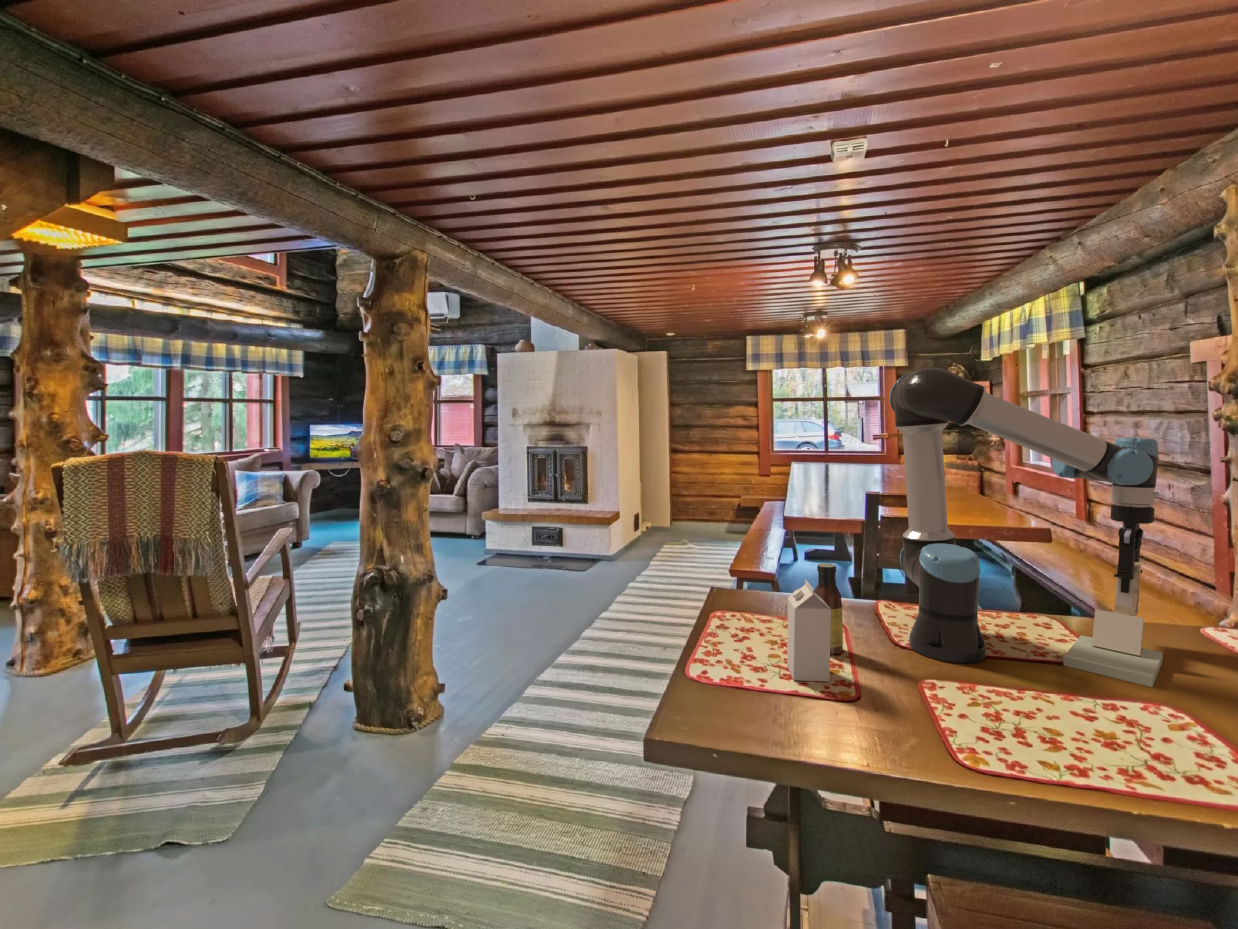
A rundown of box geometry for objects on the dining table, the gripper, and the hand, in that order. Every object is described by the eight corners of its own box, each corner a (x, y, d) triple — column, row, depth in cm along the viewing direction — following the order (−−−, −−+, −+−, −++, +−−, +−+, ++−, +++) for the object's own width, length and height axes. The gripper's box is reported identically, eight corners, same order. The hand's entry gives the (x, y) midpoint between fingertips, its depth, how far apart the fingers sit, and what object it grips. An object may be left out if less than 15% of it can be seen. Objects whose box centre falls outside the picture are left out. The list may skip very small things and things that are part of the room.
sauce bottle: (845, 648, 133) (847, 563, 131) (839, 658, 127) (841, 569, 126) (816, 643, 136) (817, 560, 135) (809, 651, 131) (810, 566, 129)
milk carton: (820, 667, 122) (822, 580, 121) (829, 682, 115) (831, 589, 114) (786, 666, 123) (788, 579, 122) (793, 681, 116) (794, 588, 115)
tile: (1096, 609, 129) (1095, 609, 129) (1143, 618, 124) (1143, 617, 123) (1092, 645, 128) (1091, 645, 128) (1140, 655, 122) (1140, 655, 122)
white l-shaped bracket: (1111, 608, 139) (1114, 559, 138) (1145, 614, 134) (1148, 563, 133) (1100, 622, 128) (1103, 569, 128) (1136, 629, 124) (1139, 575, 123)
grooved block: (1080, 643, 135) (1081, 635, 135) (1162, 661, 124) (1163, 652, 124) (1063, 665, 123) (1063, 656, 123) (1152, 687, 112) (1152, 677, 112)
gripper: (1149, 510, 123) (1143, 616, 125) (1159, 502, 136) (1153, 598, 138) (1104, 507, 129) (1098, 607, 131) (1117, 499, 142) (1112, 591, 143)
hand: (1126, 602), depth 134 cm, fingers closed on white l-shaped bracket, 6 cm apart
